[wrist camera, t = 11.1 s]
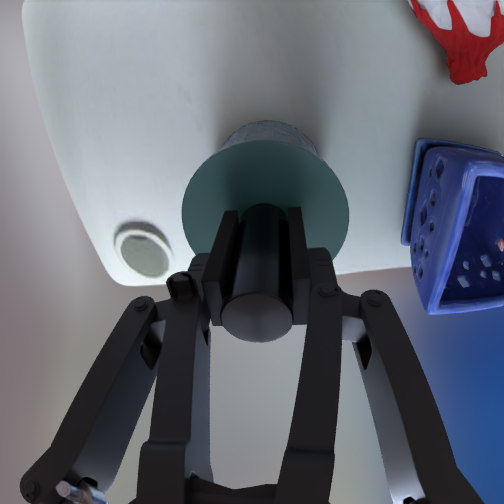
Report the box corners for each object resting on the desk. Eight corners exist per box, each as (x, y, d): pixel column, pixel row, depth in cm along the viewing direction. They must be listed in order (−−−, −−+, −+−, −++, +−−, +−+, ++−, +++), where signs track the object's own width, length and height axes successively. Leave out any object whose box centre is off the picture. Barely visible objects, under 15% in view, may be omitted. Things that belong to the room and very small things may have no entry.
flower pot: (497, 138, 22) (570, 182, 12) (474, 241, 29) (523, 306, 19) (398, 120, 23) (468, 157, 13) (383, 241, 30) (421, 321, 20)
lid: (202, 280, 23) (171, 381, 15) (172, 145, 17) (95, 211, 10) (340, 276, 22) (362, 381, 14) (347, 133, 16) (408, 192, 8)
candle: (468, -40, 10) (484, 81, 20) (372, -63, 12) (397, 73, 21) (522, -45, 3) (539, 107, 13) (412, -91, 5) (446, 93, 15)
